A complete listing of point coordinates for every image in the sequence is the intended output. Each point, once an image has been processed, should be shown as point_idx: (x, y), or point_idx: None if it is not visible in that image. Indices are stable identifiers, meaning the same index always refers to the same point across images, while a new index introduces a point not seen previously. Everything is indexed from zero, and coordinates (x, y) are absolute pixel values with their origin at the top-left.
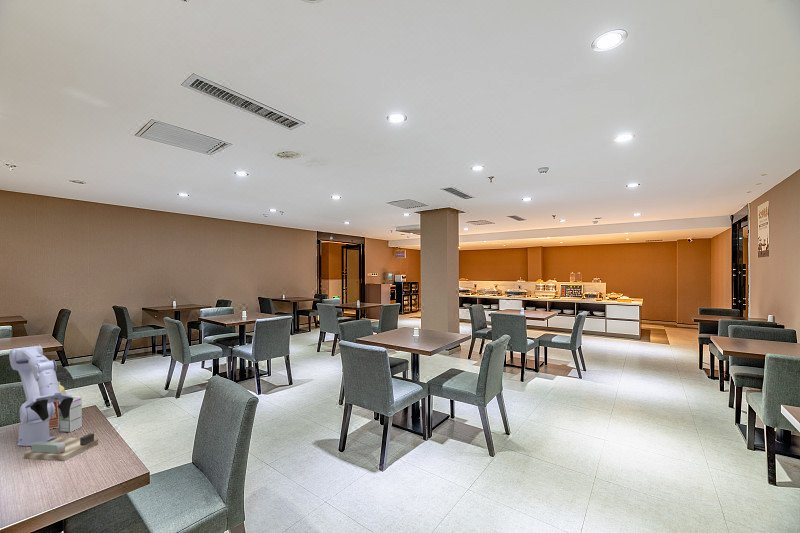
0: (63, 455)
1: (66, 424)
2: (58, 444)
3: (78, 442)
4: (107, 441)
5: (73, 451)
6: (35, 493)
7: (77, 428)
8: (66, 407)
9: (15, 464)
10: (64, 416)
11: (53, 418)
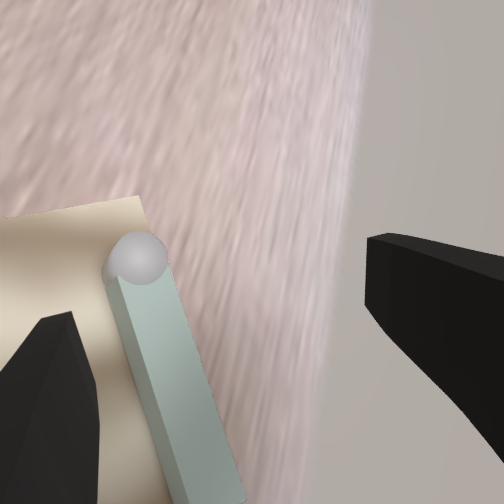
0: (140, 204)
1: None
2: (162, 247)
3: None
4: None
5: (74, 207)
6: (306, 36)
7: None
8: (43, 448)
9: (279, 441)
10: (88, 382)
11: None
